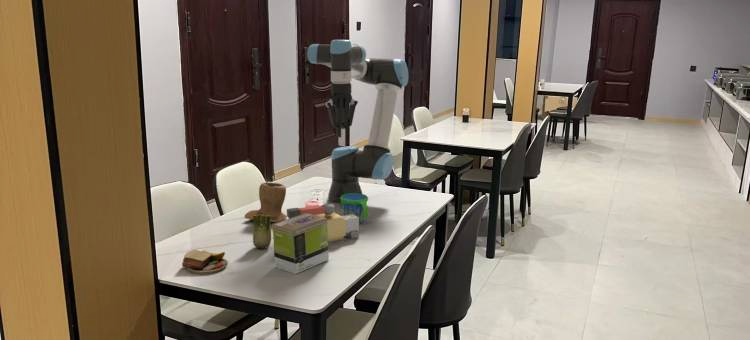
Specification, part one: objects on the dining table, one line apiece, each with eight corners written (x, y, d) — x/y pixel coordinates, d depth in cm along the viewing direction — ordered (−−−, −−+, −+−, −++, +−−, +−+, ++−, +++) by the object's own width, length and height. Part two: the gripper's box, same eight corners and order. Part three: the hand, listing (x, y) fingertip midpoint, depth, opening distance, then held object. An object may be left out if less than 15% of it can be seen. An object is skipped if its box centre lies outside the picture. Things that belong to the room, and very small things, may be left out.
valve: (296, 242, 211) (295, 215, 209) (351, 232, 222) (351, 206, 219) (304, 249, 205) (303, 220, 203) (360, 238, 216) (360, 210, 214)
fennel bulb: (273, 247, 207) (271, 214, 204) (263, 251, 203) (262, 217, 200) (260, 244, 210) (258, 211, 207) (250, 248, 206) (249, 215, 203)
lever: (332, 209, 214) (331, 202, 213) (336, 213, 210) (336, 206, 209) (286, 215, 207) (286, 208, 207) (289, 219, 203) (289, 211, 203)
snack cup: (376, 225, 230) (376, 199, 228) (352, 229, 225) (352, 203, 223) (356, 214, 243) (356, 190, 241) (333, 218, 238) (332, 193, 236)
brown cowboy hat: (292, 217, 239) (291, 181, 235) (278, 226, 228) (276, 188, 225) (259, 213, 244) (258, 177, 241) (243, 222, 233) (241, 184, 230)
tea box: (307, 253, 201) (306, 211, 198) (329, 260, 195) (328, 217, 192) (273, 267, 190) (271, 222, 186) (295, 275, 184) (294, 229, 180)
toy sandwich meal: (214, 277, 182) (213, 263, 181) (176, 272, 186) (174, 258, 185) (235, 262, 194) (234, 248, 193) (199, 257, 198) (198, 244, 197)
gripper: (329, 84, 215) (330, 148, 220) (361, 82, 221) (361, 145, 227) (320, 82, 221) (322, 145, 227) (351, 81, 227) (352, 142, 233)
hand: (341, 145), depth 227 cm, fingers closed
